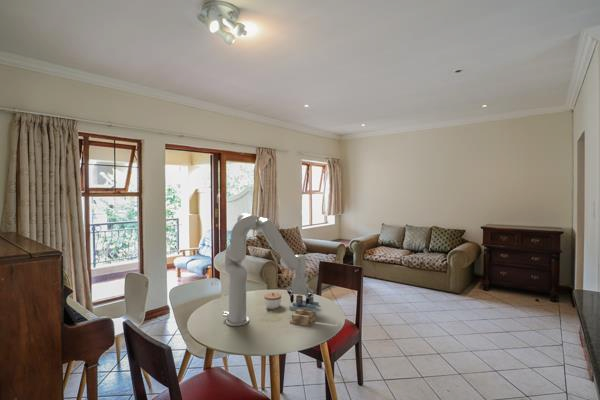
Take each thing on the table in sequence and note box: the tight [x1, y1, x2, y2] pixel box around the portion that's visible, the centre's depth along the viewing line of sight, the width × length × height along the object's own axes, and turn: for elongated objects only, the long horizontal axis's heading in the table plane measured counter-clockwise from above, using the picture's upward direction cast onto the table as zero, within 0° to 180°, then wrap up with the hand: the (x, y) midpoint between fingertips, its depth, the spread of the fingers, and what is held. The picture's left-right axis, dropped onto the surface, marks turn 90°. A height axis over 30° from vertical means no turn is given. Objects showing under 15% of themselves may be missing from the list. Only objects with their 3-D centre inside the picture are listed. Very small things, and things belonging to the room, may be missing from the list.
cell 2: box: [308, 292, 314, 305], centre depth 184 cm, size 4×4×8 cm
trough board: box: [288, 299, 320, 312], centre depth 182 cm, size 16×13×3 cm
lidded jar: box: [263, 292, 282, 310], centre depth 184 cm, size 11×11×9 cm
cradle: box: [289, 309, 317, 327], centre depth 164 cm, size 12×10×4 cm
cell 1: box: [295, 294, 304, 307], centre depth 180 cm, size 4×4×8 cm
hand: (299, 303), depth 180 cm, fingers open, 9 cm apart
